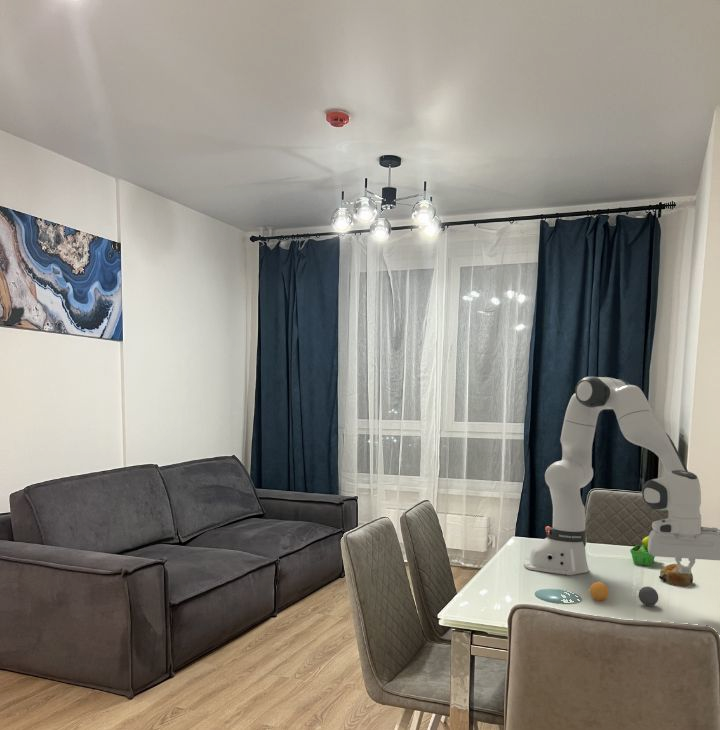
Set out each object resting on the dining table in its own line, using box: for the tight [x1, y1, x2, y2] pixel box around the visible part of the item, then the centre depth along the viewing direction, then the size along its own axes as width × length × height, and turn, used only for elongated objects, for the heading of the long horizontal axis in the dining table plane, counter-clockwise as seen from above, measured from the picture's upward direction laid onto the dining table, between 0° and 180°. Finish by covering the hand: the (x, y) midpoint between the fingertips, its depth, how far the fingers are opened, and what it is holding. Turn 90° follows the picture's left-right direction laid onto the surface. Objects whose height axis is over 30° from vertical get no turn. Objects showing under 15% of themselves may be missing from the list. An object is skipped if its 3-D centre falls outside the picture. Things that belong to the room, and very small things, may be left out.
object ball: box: [589, 581, 610, 602], centre depth 203 cm, size 6×6×6 cm
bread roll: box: [658, 563, 694, 587], centre depth 225 cm, size 10×10×8 cm
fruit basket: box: [629, 535, 656, 566], centre depth 250 cm, size 11×9×11 cm
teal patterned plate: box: [534, 588, 583, 604], centre depth 206 cm, size 14×14×1 cm
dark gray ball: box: [638, 586, 659, 607], centre depth 200 cm, size 6×6×6 cm
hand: (685, 573), depth 198 cm, fingers closed
